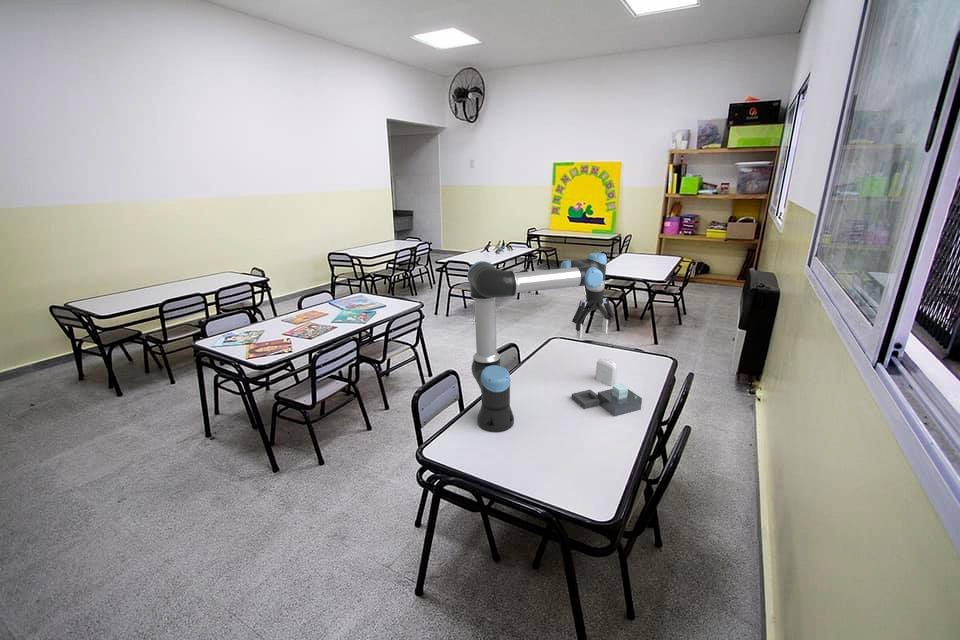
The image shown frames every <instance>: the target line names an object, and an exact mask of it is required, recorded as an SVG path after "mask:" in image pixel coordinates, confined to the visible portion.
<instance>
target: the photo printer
mask: <svg viewBox="0 0 960 640" xmlns="http://www.w3.org/2000/svg"><path fill="white" fill-rule="evenodd" d="M595 368H596V369H595V381H597V382H599V383H601V384H602V385H603V384H604V385H606V386H608V387H611V388H613V386H614V385H617V375H618V364H616V363H615V362H614V361H613V360H610V359H607V358H602V357H600V358H598V359H597V360H596V367H595Z"/></svg>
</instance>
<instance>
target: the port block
mask: <svg viewBox="0 0 960 640" xmlns="http://www.w3.org/2000/svg"><path fill="white" fill-rule="evenodd" d="M612 389H613V388H610V389H607V390H602V391H598V392H597V395H598V396H597V398H598V399H599V400H600V407H601V408H602V409H603V410H605V411H607V413H609V414H610V415H611V416H612V417H614V418H615V417H618V416H622V415H625V414H629V413H633V412H637V411H640V410H642V401H643V398H642V397H641V396H639V395H638V394H637V393H635V392H633V391H631V390H630V389H629V388H628V394H627V398H623V399H619V400H618V399H617V398H615V397H614V396H613V395H612Z"/></svg>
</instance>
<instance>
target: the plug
mask: <svg viewBox="0 0 960 640" xmlns="http://www.w3.org/2000/svg"><path fill="white" fill-rule="evenodd" d="M611 389H612V395H613V396H614V397H615V398H617V399H618V400H619V399H623V398H627V394H628V389H629V388H628V387H627V386H625V385H624V384H623V383H619V384H615V385H614V386H612V388H611Z"/></svg>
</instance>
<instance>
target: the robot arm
mask: <svg viewBox="0 0 960 640" xmlns="http://www.w3.org/2000/svg"><path fill="white" fill-rule="evenodd" d="M606 272H607V255H606V254H605V253H603V252H591V253H589V254H588V257H587V258H584V259H569V260H564V261H562V262H561V263H560V268H555V269H554V268H553V269H544V270H543V269H542V270H541V269H540V270H533V271H524V272H523V271H521V272H515V271H514V270H501V269H498V268H497V267H495V265H494V264H493V263H491V262H487V261H485V260H483V261H482V260H480V261H477V262H475V263H473V264H472V265H471V266H470V267H469V269H468V271H467V281H468V283H469V286H470V287H469V289H470V291H469V292H470V297H471V299H473V300H474V317H475V318H474V319H475V325H474V326H475V343H476V344H475V348H476V352H475V353H474V354H473V356H472V358H473V359H472V363H471V374H472V376H473V378H474V379H475V381H476V383H477V385H478V387H479V389H480V394H481V406H480V410H479V413H478V416H477V424H478V426H479V427H480V428H481V429H482V430H484V431H487V432H490V433H501V432H505V431H508V430H509V429H511V428H512V427H513V426H514V424H515V417H514V416H515V415H514V414H513V410H512V408H511V374H510V372H509V371H508V369H507V368H505V367H504V366H501V354H500V353H498V352H497V317H496V316H497V313H496V311H497V310H496V300H497V299H498V298H507V297H515V296H516V295H517V294H518V293H519V294H520V293H528V292H529V293H530V292H537V291H547V290H557V289H566V288H574V287H586V290H585V299H586V300H585V301H582V300H580V301H579V305H578V307H577V310H576V311H575V314H574V316H573V318H572V320H571V322H572V323H574V324H575V330H576V337H577V338H579V339H582V338H583V337H582V334H583V321H584V320H585V319H586V317H587V316H589V315H588V314H589V313H590V312H592V311H599V312H600V313H601V315H602V316H603V318H602V327H601V332H602V333H604V334H606V335H607V334H608V327H609V326H610V325H609V324H610V321H611V320H612V319H613V318H614V316H615V315H614V313H613V311H612V308H611V305H610V300H609V299H610V298H607V297H605V290H604V289H605V287H606ZM603 306H604V307H603Z"/></svg>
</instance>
